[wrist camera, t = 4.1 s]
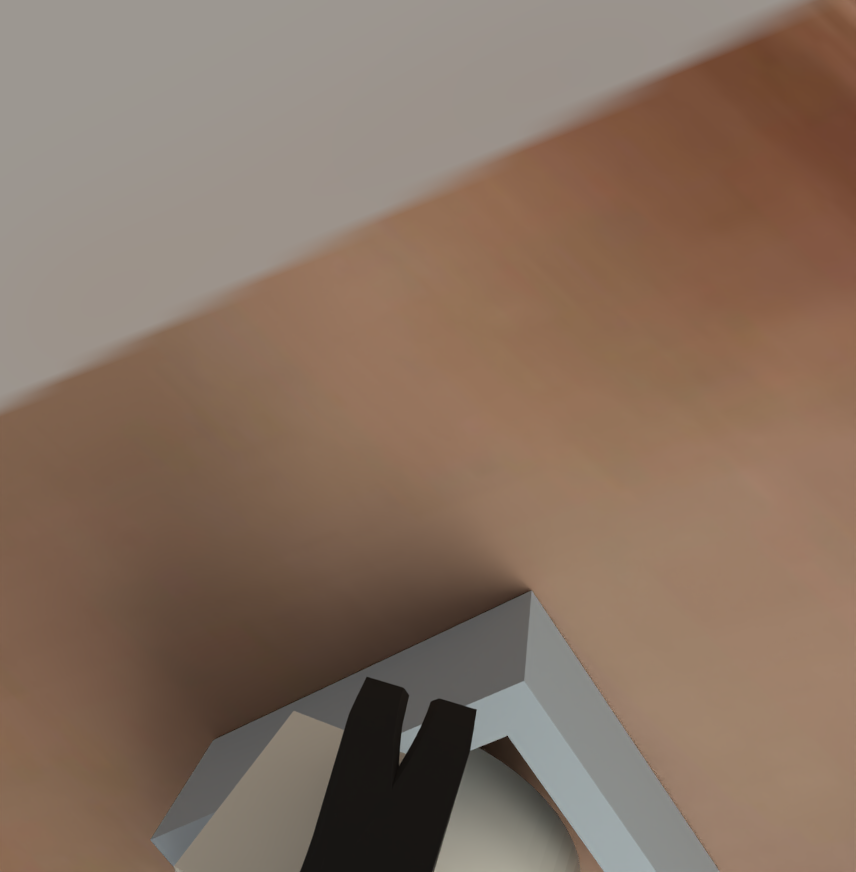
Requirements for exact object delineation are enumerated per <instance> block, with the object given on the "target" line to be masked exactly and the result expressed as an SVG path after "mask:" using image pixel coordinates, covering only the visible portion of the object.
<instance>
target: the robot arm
mask: <svg viewBox="0 0 856 872" xmlns="http://www.w3.org/2000/svg"><path fill="white" fill-rule="evenodd" d="M408 699H409V694H408V693H407V691H406V690H405V688H403V687H400V686H397V685H393V684H390V683H387V682H383V681H380V680H377V679H373V678H370V677H366V679H365V681H364V683H363V685H362V687H361V689H360V691H359V693H358V695H357V697H356V700H355V702H354V704H353V706H352V708H351V710H350V713H349V715H348V719H347V722H346V725H345V729H344V732H343V736H342V739H341V742H340V746H339V749H338V752H337V756H336V759H335V762H334V766H333V769H332V773H331V776H330V779H329V783H328V786H327V790H326V793H325V796H324V800H323V803H322V806H321V810H320V813H319V817H318V820H317V823H316V827H315V830H314V833H313V837H312V839H311V842H310V845H309V848H308V851H307V854H306V857H305V859H304V862H303V865H302V868H301V870H300V872H434V870H435V867H436V864H437V860H438V857H439V853H440V850H441V847H442V843H443V840H444V837H445V833H446V830H447V827H448V823H449V820H450V817H451V813H452V810H453V807H454V803H455V800H456V796H457V793H458V790H459V786H460V783H461V780H462V776H463V773H464V770H465V766H466V763H467V760H468V756H469V753H470V749H471V743H472V737H473V731H474V725H475V718H476V712H477V709H473V708H470V707H467V706H463V705H460V704H457V703H453V702H450V701H447V700H443V699H440V698H438V699H436V700H433V701H431V702H430V705H429V708H428V711H427V713H426V716H425V718H424V720H423V723H422V725H421V727H420V729H419V731H418V733H417V735H416V737H415V739H414V741H413V743H412V744H411V746H410V748H409V750H408V751H407V753H406V755H405V757H404V758H403V760H402V762H401V763H400V765H399V757H400V743H401V733H402V726H403V720H404V716H405V712H406V708H407V703H408Z"/></svg>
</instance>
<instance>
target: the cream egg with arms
mask: <svg viewBox="0 0 856 872" xmlns="http://www.w3.org/2000/svg"><path fill="white" fill-rule="evenodd" d="M343 732H344V730H342V729H340V728H337V727H335V726H332V725H329V724H327V723H324V722H322V721H319V720H317V719H314V718H311V717H309V716H306V715H304V714H301V713H298V712H296V711H293V712H292V714H291V715H290V716H289V717H288V719H287V720H286V721H285V723H284V724H283V725H282V727H281V728H280V729H279V730H278V732H277V733H276V734H275V736H274V737H273V738H272V740H271V741H270V742H269V743H268V745H267V746H266V747H265V749H264V750H263V751H262V753H261V754H260V755H259V756H258V758H257V759H256V760H255V762H254V763H253V764H252V765H251V767H250V768H249V769H248V771H247V772H246V773H245V775H244V776H243V777H242V778H241V780H240V781H239V782H238V784H237V785H236V786H235V788H234V789H233V790H232V791H231V793H230V794H229V795H228V797H227V798H226V799H225V801H224V802H223V803H222V804H221V806H220V807H219V808H218V810H217V811H216V812H215V813H214V815H213V816H212V817H211V819H210V820H209V821H208V823H207V824H206V825H205V826H204V828H203V829H202V830H201V832H200V833H199V834H198V836H197V837H196V838H195V839H194V841H193V842H192V843H191V845H190V846H189V847H188V849H187V850H186V851H185V852H184V854H183V855H182V856H181V858H180V859H179V860H178V862H177V863H176V864H175V865H174V869H175V872H300V870H301V868H302V865H303V862H304V859H305V857H306V854H307V851H308V848H309V845H310V842H311V839H312V837H313V833H314V830H315V827H316V823H317V820H318V817H319V813H320V810H321V806H322V803H323V800H324V796H325V793H326V790H327V786H328V783H329V779H330V776H331V773H332V769H333V766H334V762H335V759H336V756H337V752H338V749H339V746H340V742H341V739H342V736H343ZM405 755H406V754H405V753H402V752H400V757H399V765H400V763H401V762H402V760H403V758H404V757H405ZM434 872H580V864H579V858H578V854H577V851H576V848H575V845H574V842H573V841H572V839H571V837H570V835H569V833H568V831H567V829H566V827H565V825H564V824H563V822H562V821H561V819H560V818H559V816H558V815H557V813H556V812H555V811H554V810H553V808H552V807H551V806H550V805H549V804H548V802H547V801H546V800H545V799H544V798H543V797H542V796H541V795H540V794H539V793H538V792H537V791H536V790H535V789H534V788H533V787H532V786H531V785H530V784H529V783H528V782H527V781H526V780H524V779H523V778H522V777H521V776H520V775H519V774H518V773H516V772H515V771H514V770H512V769H511V768H509V767H508V766H507V765H505V764H504V763H503V762H501V761H500V760H498V759H497V758H495V757H493V756H492V755H490V754H488V753H487V752H485V751H484V750H482V749H480V748H476V749H473V750H471V751H470V753H469V756H468V760H467V763H466V766H465V770H464V773H463V776H462V780H461V783H460V786H459V790H458V793H457V796H456V800H455V803H454V807H453V810H452V813H451V817H450V820H449V823H448V827H447V830H446V833H445V837H444V840H443V843H442V847H441V850H440V853H439V857H438V860H437V864H436V867H435V870H434Z"/></svg>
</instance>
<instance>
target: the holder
mask: <svg viewBox="0 0 856 872" xmlns="http://www.w3.org/2000/svg"><path fill="white" fill-rule="evenodd" d="M366 677H370V678H373V679H377V680H380V681H383V682H387V683H390V684H393V685H397V686H400V687H403V688H405V690H406V691H407V693H408V694H409V699H408V703H407V708H406V712H405V716H404V720H403V726H402V733H401V743H400V752H402V753H405V754H406V753H407V751H408V750H409V748H410V746H411V744H412V743H413V741H414V739H415V737H416V735H417V733H418V731H419V729H420V727H421V725H422V723H423V720H424V718H425V716H426V713H427V711H428V708H429V705H430V702H431V701H433V700H436V699H438V698H440V699H443V700H447V701H450V702H453V703H457V704H460V705H463V706H467V707H470V708H473V709H477V712H476V718H475V725H474V731H473V737H472V743H471V749H470V751H471V750H473V749H476V748H478V747H481V746H483V745H486V744H488V743H491V742H493V741H496V740H498V739H501V738H503V737H506V736H508V737H509V738H510V740H511V741H512V743H513V744H514V746H515V747H516V748H517V750H518V751H519V753H520V754H521V755H522V757H523V758H524V760H525V761H526V762H527V764H528V765H529V767H530V768H531V769H532V771H533V772H534V774H535V775H536V776H537V778H538V779H539V781H540V782H541V784H542V785H543V786H544V788H545V789H546V791H547V792H548V793H549V795H550V796H551V798H552V799H553V800H554V802H555V803H556V805H557V806H558V807H559V809H560V810H561V812H562V813H563V815H564V816H565V817H566V819H567V820H568V822H569V823H570V824H571V826H572V827H573V829H574V830H575V831H576V833H577V834H578V836H579V837H580V838H581V840H582V841H583V843H584V844H585V845H586V847H587V848H588V850H589V851H590V853H591V854H592V855H593V857H594V858H595V860H596V861H597V862H598V864H599V865H600V867H601V868H602V869H603V871H604V872H720V871H719V870H718V868H717V867H716V865H715V864H714V862H713V861H712V859H711V858H710V856H709V855H708V853H707V852H706V850H705V849H704V847H703V846H702V844H701V843H700V841H699V840H698V838H697V837H696V835H695V834H694V832H693V831H692V829H691V828H690V826H689V825H688V823H687V822H686V820H685V819H684V817H683V816H682V814H681V813H680V811H679V810H678V808H677V807H676V805H675V804H674V802H673V801H672V799H671V798H670V796H669V795H668V793H667V792H666V790H665V789H664V787H663V786H662V784H661V783H660V781H659V780H658V778H657V777H656V775H655V774H654V773H653V771H652V770H651V768H650V767H649V765H648V764H647V762H646V761H645V759H644V758H643V756H642V755H641V753H640V752H639V750H638V749H637V747H636V746H635V744H634V743H633V741H632V740H631V738H630V737H629V735H628V734H627V732H626V731H625V729H624V728H623V726H622V725H621V723H620V722H619V720H618V719H617V717H616V716H615V714H614V713H613V711H612V710H611V708H610V707H609V705H608V704H607V702H606V701H605V699H604V698H603V696H602V695H601V693H600V692H599V690H598V689H597V687H596V686H595V684H594V683H593V681H592V680H591V678H590V677H589V675H588V674H587V672H586V671H585V669H584V668H583V666H582V665H581V663H580V662H579V660H578V659H577V657H576V656H575V654H574V653H573V651H572V650H571V648H570V647H569V645H568V644H567V642H566V641H565V639H564V638H563V636H562V635H561V633H560V632H559V630H558V629H557V627H556V626H555V624H554V623H553V621H552V620H551V619H550V617H549V616H548V614H547V613H546V611H545V610H544V608H543V607H542V605H541V604H540V602H539V601H538V599H537V598H536V596H535V595H534V593H533V592H532V590H531V591H529V592H527V593H525V594H523V595H521V596H519V597H516V598H514V599H512V600H510V601H508V602H506V603H504V604H502V605H499V606H497V607H495V608H493V609H491V610H489V611H487V612H485V613H482V614H480V615H478V616H476V617H474V618H472V619H470V620H468V621H465V622H463V623H461V624H459V625H457V626H455V627H453V628H451V629H448V630H446V631H444V632H442V633H440V634H438V635H436V636H434V637H431V638H429V639H427V640H425V641H423V642H421V643H419V644H417V645H414V646H412V647H410V648H408V649H406V650H404V651H402V652H400V653H397V654H395V655H393V656H391V657H389V658H387V659H385V660H383V661H380V662H378V663H376V664H374V665H372V666H370V667H368V668H365V669H363V670H361V671H359V672H357V673H355V674H353V675H351V676H348V677H346V678H344V679H342V680H340V681H338V682H336V683H334V684H331V685H329V686H327V687H325V688H323V689H321V690H319V691H317V692H314V693H312V694H310V695H308V696H306V697H304V698H302V699H300V700H297V701H295V702H293V703H291V704H289V705H287V706H285V707H283V708H280V709H278V710H276V711H274V712H272V713H270V714H268V715H266V716H263V717H261V718H259V719H257V720H255V721H253V722H251V723H249V724H246V725H244V726H242V727H240V728H238V729H236V730H234V731H232V732H229V733H227V734H225V735H223V736H221V737H219V738H217V739H215V740H213V741H212V743H211V744H210V746H209V748H208V749H207V751H206V752H205V754H204V755H203V757H202V759H201V760H200V762H199V763H198V765H197V767H196V768H195V770H194V771H193V773H192V775H191V776H190V778H189V779H188V781H187V782H186V784H185V786H184V787H183V789H182V790H181V792H180V794H179V795H178V797H177V798H176V800H175V801H174V803H173V805H172V806H171V808H170V809H169V811H168V813H167V814H166V816H165V817H164V819H163V820H162V822H161V824H160V825H159V827H158V828H157V830H156V832H155V833H154V835H153V836H152V838H151V839H150V840H151V841H152V842H153V844H154V845H155V846H156V847H157V848H158V849H159V851H160V852H161V853H162V854H163V855H164V856H165V858H166V859H167V860H168V861H169V862H170V863H171V864H172V866H173V867H174V865H175V864H176V863H177V862H178V860H179V859H180V858H181V856H182V855H183V854H184V852H185V851H186V850H187V849H188V847H189V846H190V845H191V843H192V842H193V841H194V839H195V838H196V837H197V836H198V834H199V833H200V832H201V830H202V829H203V828H204V826H205V825H206V824H207V823H208V821H209V820H210V819H211V817H212V816H213V815H214V813H215V812H216V811H217V810H218V808H219V807H220V806H221V804H222V803H223V802H224V801H225V799H226V798H227V797H228V795H229V794H230V793H231V791H232V790H233V789H234V788H235V786H236V785H237V784H238V782H239V781H240V780H241V778H242V777H243V776H244V775H245V773H246V772H247V771H248V769H249V768H250V767H251V765H252V764H253V763H254V762H255V760H256V759H257V758H258V756H259V755H260V754H261V753H262V751H263V750H264V749H265V747H266V746H267V745H268V743H269V742H270V741H271V740H272V738H273V737H274V736H275V734H276V733H277V732H278V730H279V729H280V728H281V727H282V725H283V724H284V723H285V721H286V720H287V719H288V717H289V716H290V715H291V714H292V712H293V711H296V712H298V713H301V714H304V715H306V716H309V717H311V718H314V719H317V720H319V721H322V722H324V723H327V724H329V725H332V726H335V727H337V728H340V729H342V730H344V729H345V725H346V722H347V719H348V715H349V713H350V710H351V708H352V706H353V704H354V702H355V700H356V697H357V695H358V693H359V691H360V689H361V687H362V685H363V683H364V681H365V679H366Z"/></svg>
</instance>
